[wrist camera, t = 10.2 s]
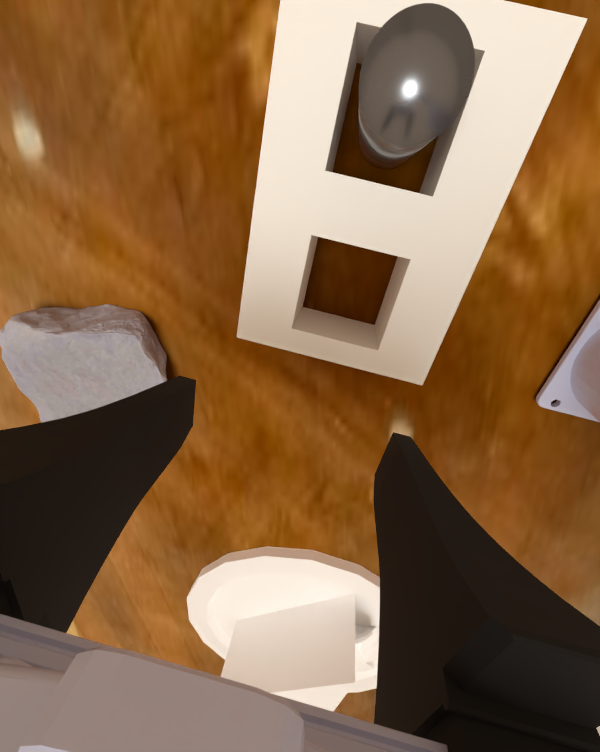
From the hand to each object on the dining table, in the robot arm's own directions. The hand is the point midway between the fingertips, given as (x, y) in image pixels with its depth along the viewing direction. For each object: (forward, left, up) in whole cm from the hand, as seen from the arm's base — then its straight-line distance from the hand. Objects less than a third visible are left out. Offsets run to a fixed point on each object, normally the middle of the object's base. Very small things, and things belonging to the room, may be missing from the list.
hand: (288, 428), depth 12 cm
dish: (-6, +33, -11) cm, 35 cm away
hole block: (-1, -7, -10) cm, 13 cm away
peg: (-1, -11, -10) cm, 15 cm away
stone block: (+14, +8, -11) cm, 19 cm away
